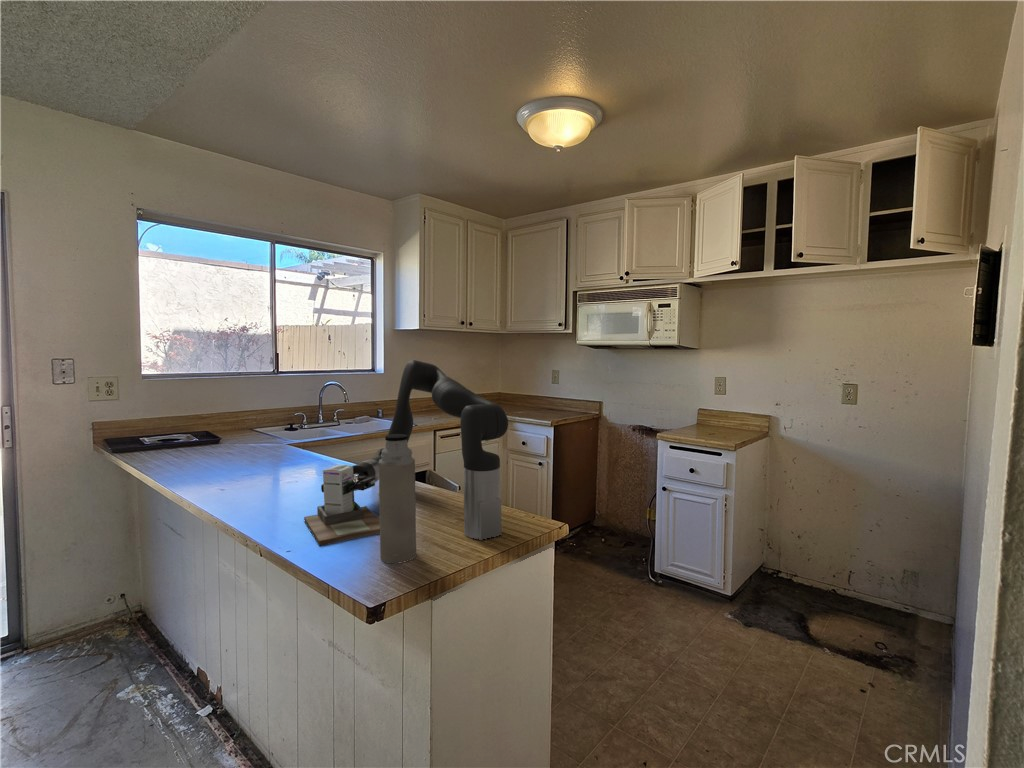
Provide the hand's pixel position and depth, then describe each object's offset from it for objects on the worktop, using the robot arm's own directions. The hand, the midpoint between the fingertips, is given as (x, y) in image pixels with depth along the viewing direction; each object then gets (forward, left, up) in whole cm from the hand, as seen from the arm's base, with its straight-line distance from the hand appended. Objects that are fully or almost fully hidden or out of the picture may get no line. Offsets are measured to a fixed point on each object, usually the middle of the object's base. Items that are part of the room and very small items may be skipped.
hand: (334, 489), depth 132 cm
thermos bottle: (-29, -7, -10) cm, 31 cm away
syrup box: (+2, -2, -9) cm, 10 cm away
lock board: (-3, -2, -10) cm, 10 cm away
